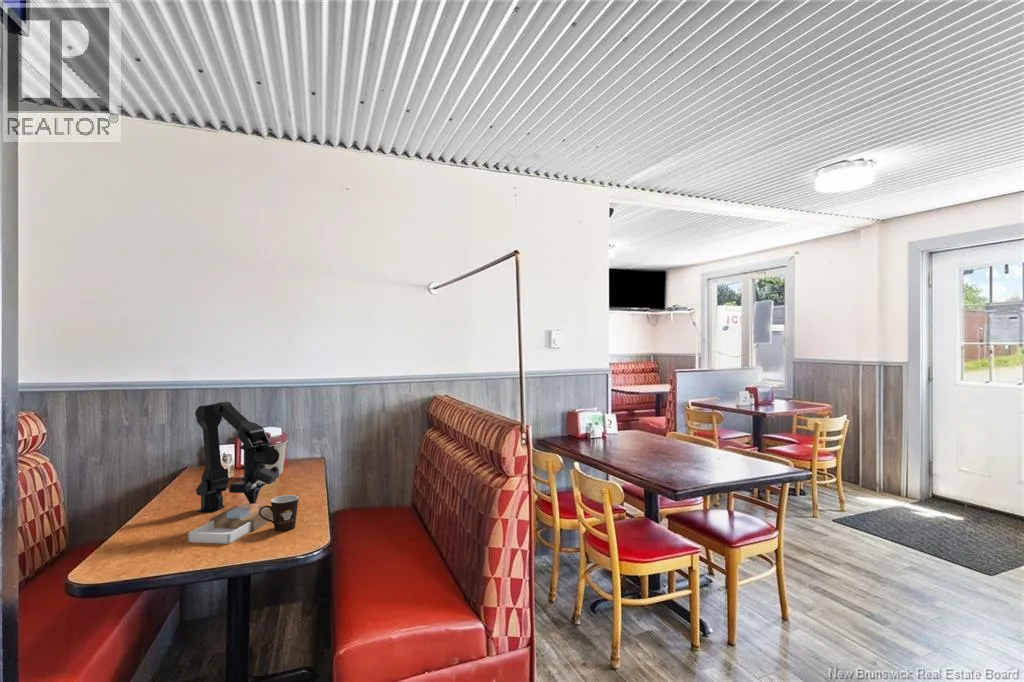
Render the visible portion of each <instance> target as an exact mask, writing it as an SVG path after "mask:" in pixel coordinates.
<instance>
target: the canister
mask: <svg viewBox="0 0 1024 682" xmlns="http://www.w3.org/2000/svg"><path fill="white" fill-rule="evenodd" d="M265 433H266V435H267V437H268V438H269V441H270V443H271V445H274V449H276V450H278V452H279V459H278V461H277V462H276V463H275V464H273V465H267V464H265V468H266V469H269V468H270V469H271V468H273V467H275V466H276V467H278V468H279V476H278V477H280V476H281V475H282V474H283V471H284V464H285V457H286V456H285V455H286V449H287V448H286V447H287V444H288V439H285V438H284V437H280V436H271V433H270V432H268V431H267V432H266V431H265ZM261 442H263V441H261ZM257 443H258V442H257ZM252 444H253V443H252ZM278 477H277V478H278Z"/></svg>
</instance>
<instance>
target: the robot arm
mask: <svg viewBox="0 0 1024 682" xmlns="http://www.w3.org/2000/svg"><path fill="white" fill-rule="evenodd" d="M194 414H195V417H196V422H197V424H198V426H200V427H201V429H202V435H203V447H204V448H203V449H204V459H205V468H204V471H203V472H202V475H201V482H200V483H199V484H198V486H197V488H196V489H195V493H196V495H197V496H200V508H199V509H198V510H197V511H198V512H204V513H205V512H206V513H209V512H210V513H214V512H217V511H218V510H221V509H222V508H225V504H224V497H223V492H227V488H228V493H229V494H244V496H245V498H246V499H247V501H248V503H252V504H257V500H258V496H259V493H260V491H261V489H262V488H263V487H265V486H266V484H267V485H271V484H272V483H275V482H276V481H277V478H278V476H279V468H278V467H276V466H275V467H273V468H271V469H270V468H269V469H266V468H265V464H267V465H273V464H275V463H276V462H277V461H278V459H279V452H278V450H276V449H274V445H271V443H270V441H269V438H268V437H267V435H266V433H265V432H266V431H265V428H264V427H263V426H261V425H260V424H258V423H256V422H251V421H249V420H248V419H247V418H246V417H245V416H244V415H242V413H241V412H239V411H238V410H237V409H236V408H235V407H234V406H233V404H232V402H231V401H221V402H220V401H219V402H217V403H213V404H210V403H209V404H203V405H199V406H198V407H197V409H196V410H195V413H194ZM223 419H224V420H225V421H226V422H227V423H228V424H230V426H231V427H232V428H233V429H234V430H236V432H237V438H238V439H239V441H241V443H242V445H240V447H239V450H243V465H241V467H240V469H241V470H243V477H240V478H241V479H240V480H241V481H235V482H234V483H231V484H230V485H229V486H228V484H229V479H230V477H229V469H228V468H224V466H223V465H222V459H221V458H222V457H221V449H220V448H221V446H220V437H219V436H220V435H219V426H220V424H221V422H222V420H223ZM261 441H263V442H261ZM257 442H258V443H257ZM252 443H253V444H252ZM279 477H280V476H279Z"/></svg>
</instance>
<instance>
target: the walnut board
mask: <svg viewBox="0 0 1024 682" xmlns="http://www.w3.org/2000/svg"><path fill="white" fill-rule="evenodd" d="M239 506H240V505H234V506H232V507H231V508H228V509H227V510H224V511H222V512H220V513H218V514H216V515H214V516H212V517H210V518H209V522H210V521H212V520H214V528H222V529H238V528H239V527H241V526H243V525H245V524H246V523H248V522H251V531H252V532H255V531H257V530H258V529H259V528H261V527H263V526H265V525H266V524H268V523H271V522H270V521H267V520H265V519H263V518H262V517H261V516H260V515H259V510H260V508H261V507H263V505H258V510H256V511H254V512H252V513H250V514H249V515H247V516H245V517H243V518H241V519H227V512H229V511H231V510H233V509H235V508H237V507H239ZM261 515H262V516H263V517H265V518H267V519H270V520H273V513H272V511H271V510H270V508H268V507H265V508H263V509H262V510H261ZM251 531H250V532H251Z"/></svg>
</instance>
